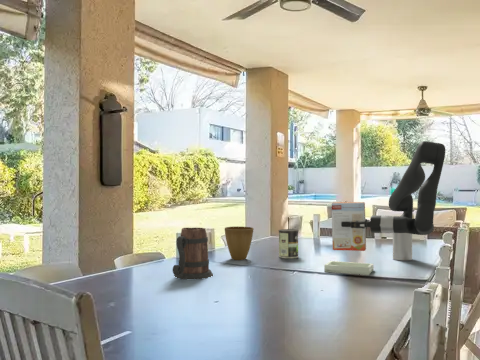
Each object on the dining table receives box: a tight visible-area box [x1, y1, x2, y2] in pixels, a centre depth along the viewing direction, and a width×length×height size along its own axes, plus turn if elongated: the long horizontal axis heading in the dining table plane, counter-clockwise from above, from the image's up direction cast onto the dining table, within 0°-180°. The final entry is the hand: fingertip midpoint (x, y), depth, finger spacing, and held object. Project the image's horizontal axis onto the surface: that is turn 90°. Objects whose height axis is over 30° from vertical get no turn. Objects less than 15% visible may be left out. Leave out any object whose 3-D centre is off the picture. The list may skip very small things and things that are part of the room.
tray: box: [323, 260, 374, 276], centre depth 202 cm, size 11×19×3 cm, turn 65°
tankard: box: [172, 227, 214, 280], centre depth 193 cm, size 24×17×20 cm
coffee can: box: [278, 228, 299, 259], centre depth 242 cm, size 10×10×14 cm
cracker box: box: [331, 201, 367, 252], centre depth 202 cm, size 14×6×21 cm, turn 71°
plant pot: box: [224, 226, 254, 261], centre depth 236 cm, size 15×15×16 cm
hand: (343, 223), depth 203 cm, fingers closed on cracker box, 6 cm apart
